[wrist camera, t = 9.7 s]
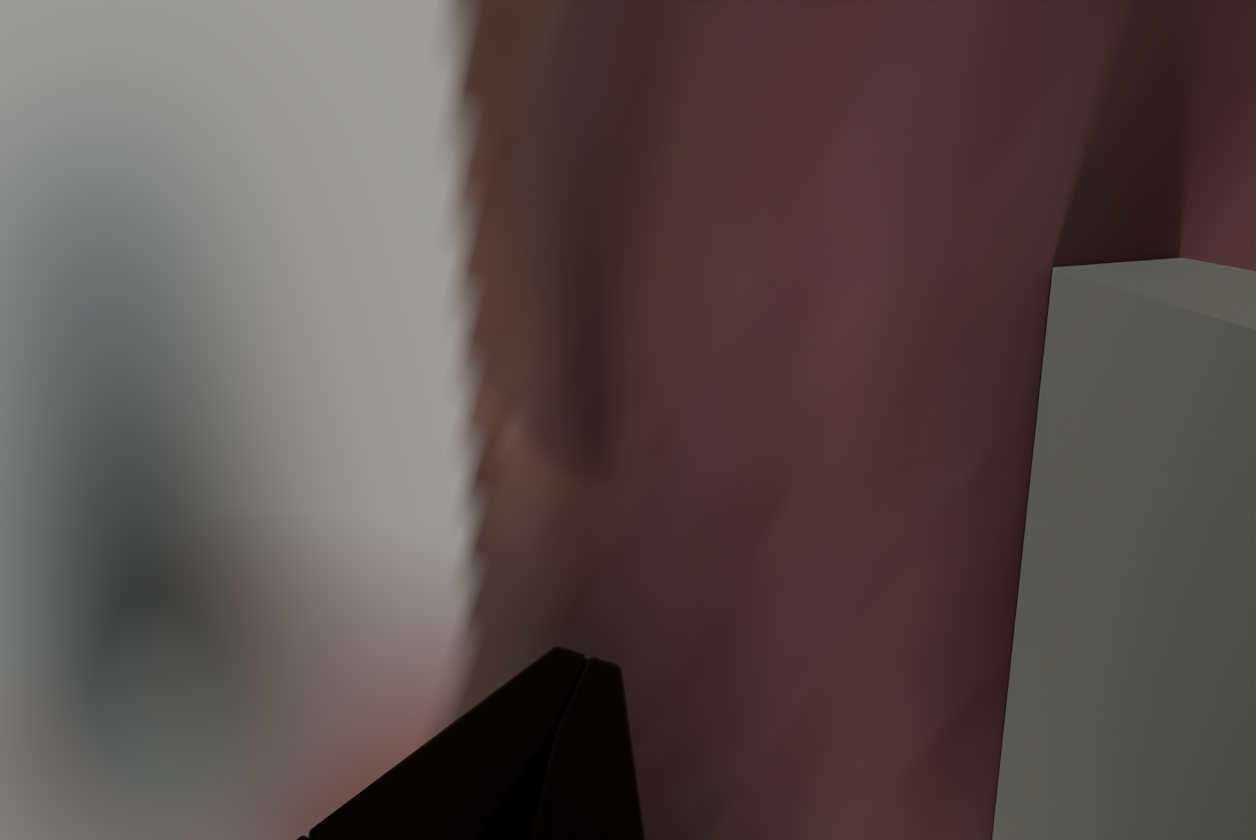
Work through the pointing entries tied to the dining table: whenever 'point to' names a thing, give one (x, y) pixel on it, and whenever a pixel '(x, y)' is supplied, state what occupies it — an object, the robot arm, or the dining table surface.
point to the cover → (1138, 564)
